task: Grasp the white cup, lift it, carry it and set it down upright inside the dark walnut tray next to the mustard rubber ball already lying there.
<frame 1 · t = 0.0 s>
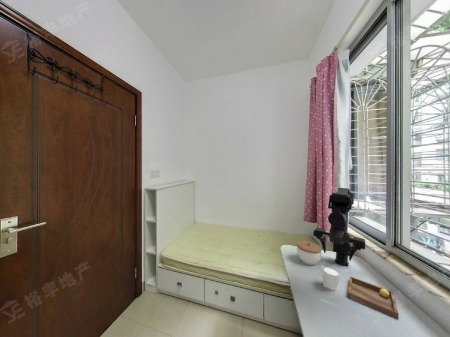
hand: (336, 256, 74), 15 cm above the table, fingers open, 9 cm apart
ball: (384, 296, 71), point 1 cm above the table, touching tray
lidded bowl: (307, 261, 97), on the table
tray: (370, 298, 70), on the table
white cup: (330, 287, 76), on the table
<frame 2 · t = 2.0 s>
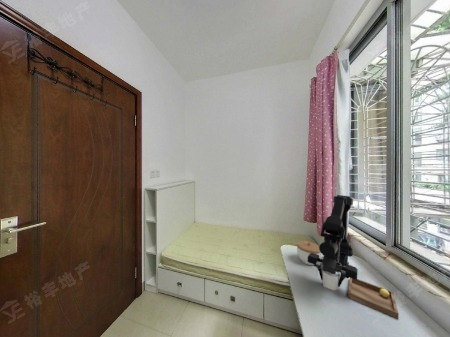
hand: (330, 283, 76), 2 cm above the table, fingers closed on white cup, 6 cm apart
white cup: (330, 287, 76), on the table, touching gripper
everything else where it was.
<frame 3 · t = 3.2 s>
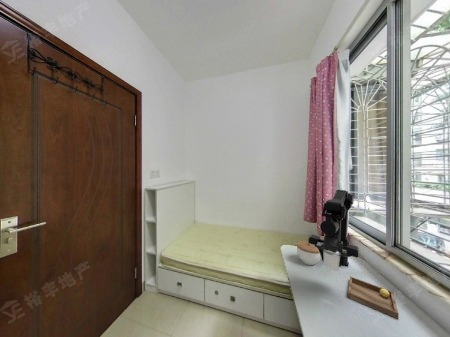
hand: (331, 263, 76), 11 cm above the table, fingers closed on white cup, 6 cm apart
white cup: (331, 267, 76), point 9 cm above the table, touching gripper
everything else where it was.
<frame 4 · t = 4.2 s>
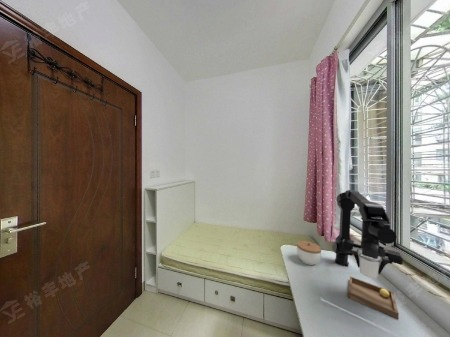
hand: (368, 270, 70), 11 cm above the table, fingers closed on white cup, 6 cm apart
white cup: (368, 274, 70), point 10 cm above the table, touching gripper
everything else where it was.
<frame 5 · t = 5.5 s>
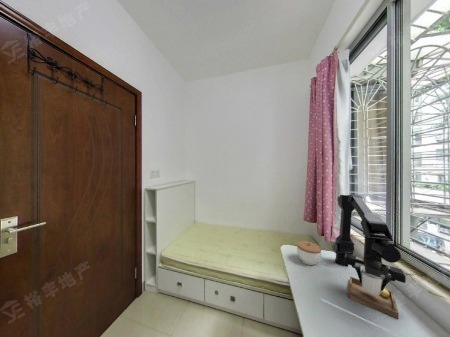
hand: (370, 286, 70), 5 cm above the table, fingers closed on white cup, 6 cm apart
white cup: (370, 290, 70), point 3 cm above the table, touching gripper
everything else where it was.
when the fingers open (3 cm above the table, at t = 6.4 s): white cup stays where it is, resting on tray.
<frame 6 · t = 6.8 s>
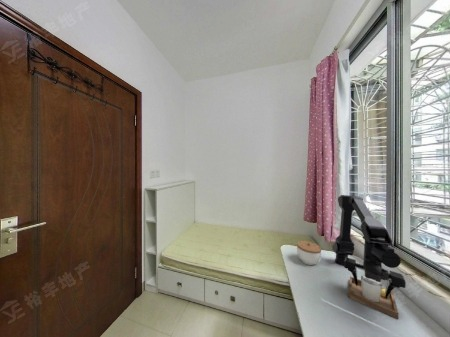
hand: (370, 291, 70), 3 cm above the table, fingers open, 9 cm apart
white cup: (370, 297, 70), resting on tray
everything else where it was.
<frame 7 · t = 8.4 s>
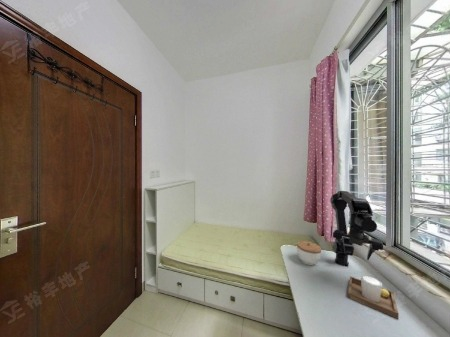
hand: (355, 256, 81), 12 cm above the table, fingers open, 9 cm apart
nothing on the table moved.
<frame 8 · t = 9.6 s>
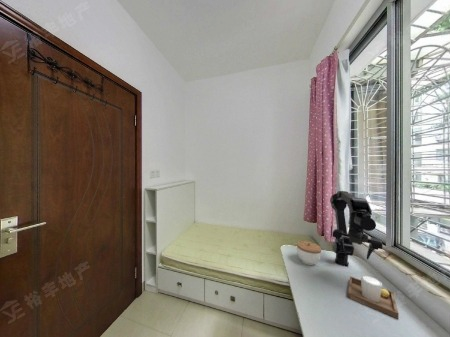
hand: (354, 255, 82), 12 cm above the table, fingers open, 9 cm apart
nothing on the table moved.
at the end: white cup inside the target area on the tray (0.0 cm from its centre), point 0.4 cm above the tray's base; white cup tilted 0°; the gripper is holding nothing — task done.
